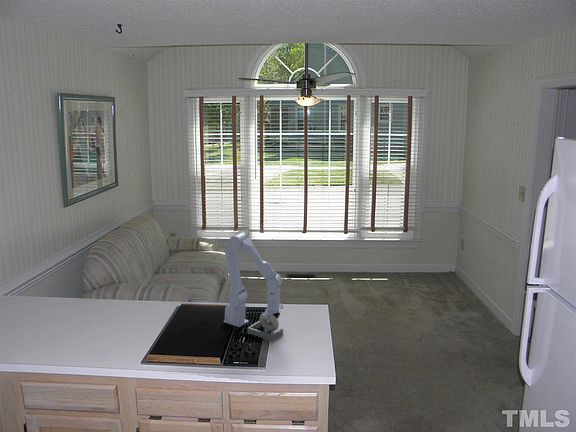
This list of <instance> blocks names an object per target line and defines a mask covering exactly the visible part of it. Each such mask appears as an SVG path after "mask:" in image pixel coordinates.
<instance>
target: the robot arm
mask: <svg viewBox="0 0 576 432" xmlns="http://www.w3.org/2000/svg"><path fill="white" fill-rule="evenodd" d="M239 252H244V253H247V254H248V256H249V257H250V258H251V259H252V261H253V262H255V264H256V266H257V270H258V272H259V273H260V275H261V276H262V277H263V279H264V281H265V284H266V287H267V300H266V301H267V303H266V309H265V311H264V312H263V313H262V314H263V318H266V319H267V318H268V315H271V314H273V315H274V316H275V317H276V318H277V320H278V319H279V317H280V315H281V312H282V309H284V304H283V303H281V302H280V301H281V285H282V283H283V277H282V276H281V274H279V273H277V272H276V271H275V270H274V268H273V267H272V264H271V263H269V262H268V261H265V260H264V259H263V257H262V256H261V254H260V253H259V251H258V250H257V249H256V246H254V243H253V241H252V238H251V237H249V235H248V234H247V233H246V232H245V231H239V232H238V233H237V234H235V235H233V236H231V237H230V238H229V239H228V240H227V241H226V245H225V250H224V256H225V260H226V266H227V267H226V269H227V271H228V272H227V273H228V279H229V285H230V289H229V292H228V295H229V296H228V300H227V301H228V303H227V304H226V305H225V307H224V320H223V322H224V323H225V324H229V325H232V326H235V327H237V328H240V327H242V326H244V325H246V324H247V323H249V320H248V319H246V308H247V307H246V304H247V303H246V301H247V300H248V298H249V294H248V291H247V290H246V287H245V285H244V284H243V283H242V282H243V281H242V277H241V270H240V266H239V259H238V253H239ZM268 322H269V323H270V324H271V322H270V321H268Z"/></svg>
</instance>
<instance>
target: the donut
mask: <svg viewBox="0 0 576 432" xmlns="http://www.w3.org/2000/svg"><path fill="white" fill-rule="evenodd" d="M258 319H259V320H258V321H260V326H261V327H262V328H263V329H265V330H266V331H269V332H275V331H276V330H277V331H278V328H279V324H280V323H279V320H278V319H277V318H276V317H275V316H274V315H273V314H271V315H268V318H267V319H266V318H263V313H261V314H260V316H259V318H258ZM269 321H270V322H271V324H270V323H269Z"/></svg>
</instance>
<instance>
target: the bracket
mask: <svg viewBox="0 0 576 432" xmlns="http://www.w3.org/2000/svg"><path fill="white" fill-rule="evenodd" d="M257 328H258V329H257ZM259 328H261V323H260V320H258V321H256V322H254V323H253V324H252V325H249V326H248V327H247V333H248V335H250V334H252V335H251V336H253V335H255V336H254V337H256V336H258V337H257V338H259V337H261V338H260V339H262V338H264V339H263V340H265V339H266V340H265V341H267V342H268V341H269V342H271V343H273V342H275V341H276V340H277V339H279V338H280V337H281V336H284V328H283V327H281V328H280V329H279V330H278V329H277V331H276V332H274V333H273V334H271V333H268V332H265V331H263V330H259Z"/></svg>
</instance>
